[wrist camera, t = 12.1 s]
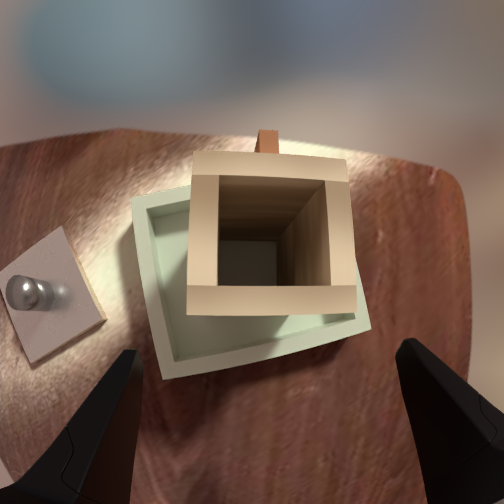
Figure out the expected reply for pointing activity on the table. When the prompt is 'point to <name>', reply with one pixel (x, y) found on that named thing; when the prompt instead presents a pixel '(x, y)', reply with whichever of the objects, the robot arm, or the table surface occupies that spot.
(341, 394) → the table surface
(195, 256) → the birch sleeve
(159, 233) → the green tray
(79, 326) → the stand
